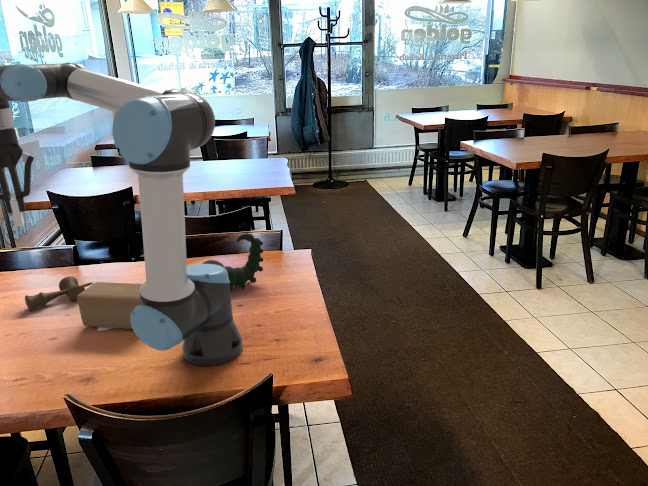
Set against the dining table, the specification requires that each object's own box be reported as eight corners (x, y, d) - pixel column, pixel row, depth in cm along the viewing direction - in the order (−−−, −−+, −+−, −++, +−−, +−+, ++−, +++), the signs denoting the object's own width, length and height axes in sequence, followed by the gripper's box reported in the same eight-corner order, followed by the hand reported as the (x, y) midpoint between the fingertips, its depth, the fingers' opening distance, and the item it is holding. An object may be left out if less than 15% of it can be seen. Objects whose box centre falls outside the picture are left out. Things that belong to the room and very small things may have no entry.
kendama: (24, 307, 162) (89, 286, 174) (32, 318, 155) (99, 295, 167) (19, 290, 160) (86, 270, 172) (27, 300, 153) (96, 279, 165)
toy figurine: (255, 280, 178) (183, 292, 165) (255, 227, 172) (181, 236, 160) (267, 290, 170) (192, 303, 158) (267, 235, 165) (190, 244, 152)
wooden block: (95, 280, 152) (158, 283, 148) (101, 310, 155) (163, 314, 152) (74, 295, 142) (141, 298, 139) (81, 327, 146) (147, 331, 142)
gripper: (29, 124, 125) (50, 217, 133) (-34, 128, 120) (-8, 224, 128) (25, 127, 118) (48, 224, 126) (-41, 132, 114) (-13, 233, 122)
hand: (20, 224), depth 127 cm, fingers closed
